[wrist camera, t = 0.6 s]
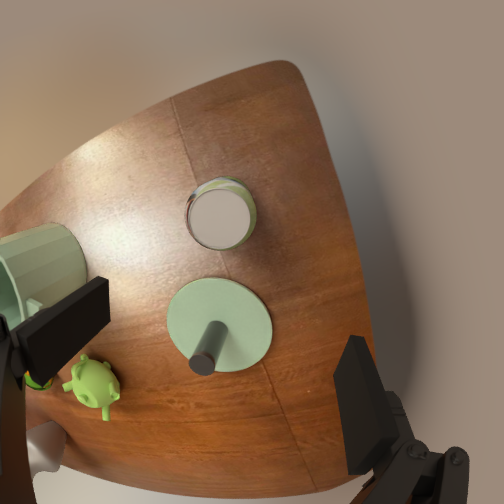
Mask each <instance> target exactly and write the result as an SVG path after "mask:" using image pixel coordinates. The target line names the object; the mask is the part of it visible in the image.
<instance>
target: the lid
mask: <svg viewBox="0 0 504 504" xmlns="http://www.w3.org/2000/svg"><path fill="white" fill-rule="evenodd" d="M167 327H168V331H169V334H170V336H171V339H172V341H173V342H174V344H175V345H176V347H177V348H178V349H179V351H180V352H181V353H182V354H183V355H184V356H186V357H187V358H188V359H189V366H190V368H191V369H192V370H193V371H194V372H195V373H197V374H199V375H203V376H207V375H210V374H212V373H213V372H214V371H221V372H232V371H238V370H242V369H245V368H248V367H250V366H252V365H254V364H255V363H256V362H258V361H259V360H260V359H261V358H262V357H263V356H264V355H265V353H266V352H267V350H268V348H269V346H270V343H271V339H272V330H273V328H272V321H271V317H270V314H269V312H268V310H267V308H266V306H265V305H264V303H263V302H262V301H261V300H260V298H259V297H258V296H257V295H256V294H255V293H253V292H252V291H251V290H249V289H248V288H246V287H245V286H243V285H241V284H239V283H237V282H234V281H231V280H228V279H223V278H203V279H198V280H195V281H192V282H190V283H188V284H186V285H185V286H184V287H182V288H181V289H180V290H179V291H178V292H177V293H176V294H175V295H174V297H173V298H172V300H171V302H170V304H169V307H168V311H167Z"/></svg>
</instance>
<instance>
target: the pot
mask: <svg viewBox="0 0 504 504" xmlns="http://www.w3.org/2000/svg"><path fill="white" fill-rule="evenodd" d="M86 279H87V271H86V263H85V259H84V255H83V252H82V250H81V247H80V245H79V243H78V241H77V240H76V238H75V237H74V235H73V234H72V233H71V232H70V231H69V230H68V229H67V228H66V227H64V226H62V225H60V224H57V223H48V224H44V225H41V226H37V227H34V228H31V229H27V230H24V231H21V232H18V233H15V234H11V235H8V236H5V237H2V238H0V313H1V314H3V315H5V317H6V319H7V323H8V327H9V331H10V330H12V329H13V328H14V327H16V326H17V325H19V324H20V323H22V322H23V321H24V320H26V319H28V318H29V317H30V316H33V314H35V313H36V312H38V311H39V310H41V309H44V308H47V307H51V306H53V305H54V304H56V303H57V302H59V301H60V300H62V299H63V298H65V297H66V296H68V295H69V294H71V293H72V292H74V291H75V290H77V289H78V288H80V287H82V286H83V285H85V284H86Z"/></svg>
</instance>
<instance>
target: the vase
mask: <svg viewBox="0 0 504 504" xmlns="http://www.w3.org/2000/svg"><path fill="white" fill-rule="evenodd" d="M26 436H27V448H28V457H29V465H30V472H31V478H32V482H33V478H34V476H35V474H36V473H38V472H41V471H47V472H57V471H58V469H59V468H60V465H61V461H62V457H63V453H64V449H65V443H66V437H67V434H66V432H65V430H64V429H63V428H62V427H61V426H60V425H58V424H57V423H56V422H54V421H49V422H46V423H44V424H41V425H39V426H36V427H34V428H32V429H30V430H28V431H26Z"/></svg>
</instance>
